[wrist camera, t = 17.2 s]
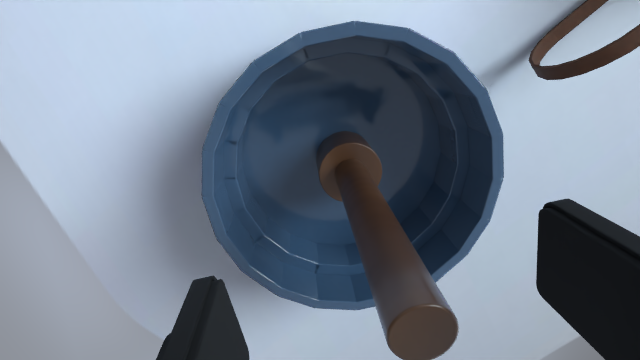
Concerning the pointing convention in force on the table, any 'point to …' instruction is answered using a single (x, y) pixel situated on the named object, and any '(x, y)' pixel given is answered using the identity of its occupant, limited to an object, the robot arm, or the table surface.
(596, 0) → the brown barrel bag
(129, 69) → the table surface
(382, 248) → the stirring stick
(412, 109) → the bowl
